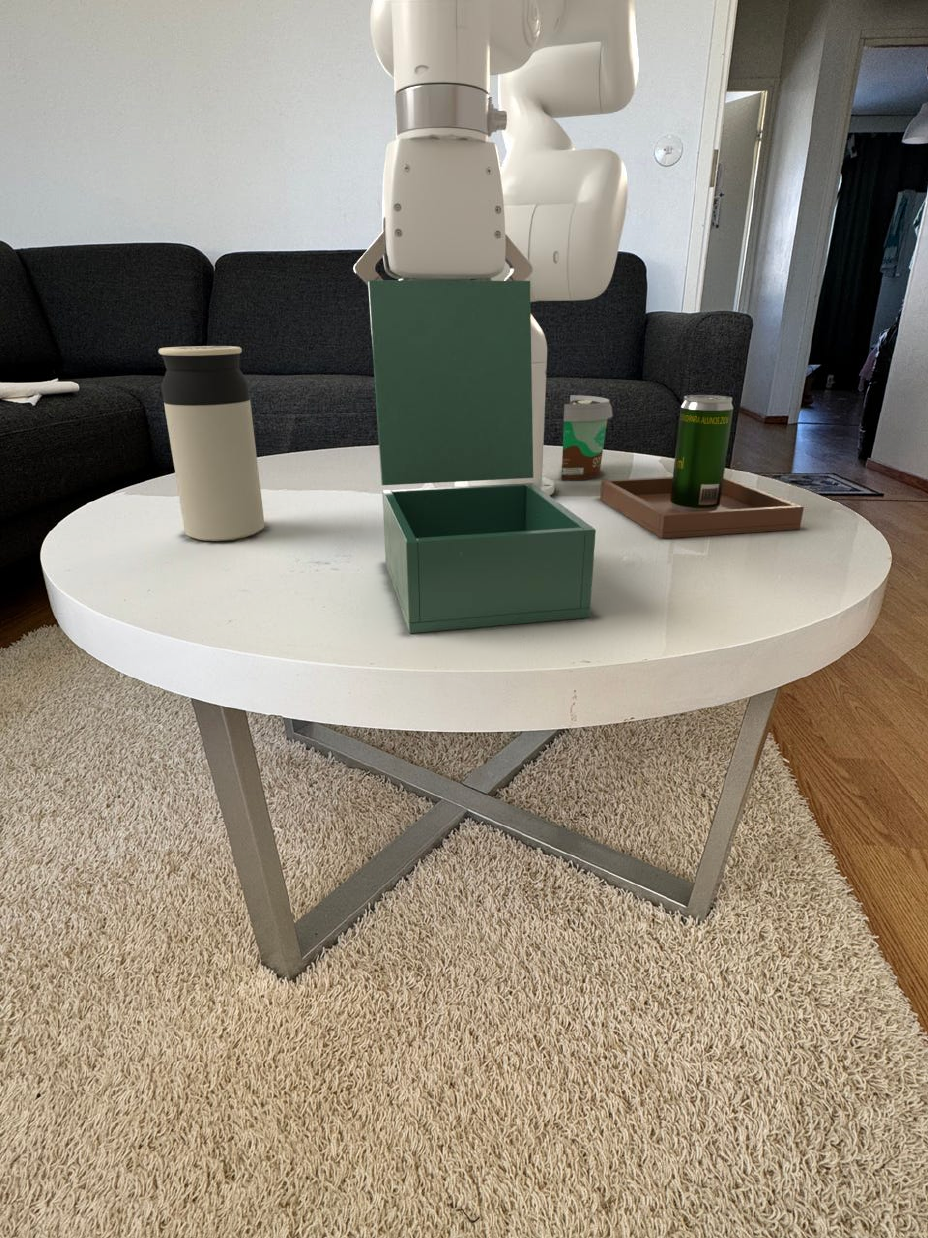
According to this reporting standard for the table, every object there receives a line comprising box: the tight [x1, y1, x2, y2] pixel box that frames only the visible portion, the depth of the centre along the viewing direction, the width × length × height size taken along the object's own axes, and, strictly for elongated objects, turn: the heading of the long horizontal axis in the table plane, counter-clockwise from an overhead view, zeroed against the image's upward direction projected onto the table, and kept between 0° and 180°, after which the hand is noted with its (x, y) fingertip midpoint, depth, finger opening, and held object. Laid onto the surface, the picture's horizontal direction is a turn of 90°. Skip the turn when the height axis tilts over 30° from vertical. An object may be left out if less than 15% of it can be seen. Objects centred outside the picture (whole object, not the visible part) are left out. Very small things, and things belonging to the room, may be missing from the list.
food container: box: [560, 394, 613, 481], centre depth 99 cm, size 12×6×10 cm, turn 168°
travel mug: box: [157, 345, 265, 542], centre depth 72 cm, size 8×8×18 cm
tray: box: [599, 475, 805, 540], centre depth 81 cm, size 17×16×2 cm
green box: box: [381, 483, 597, 634], centre depth 58 cm, size 16×14×7 cm
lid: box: [367, 279, 533, 486], centre depth 64 cm, size 16×14×5 cm
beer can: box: [670, 394, 734, 512], centre depth 78 cm, size 5×5×12 cm
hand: (445, 360), depth 65 cm, fingers closed on lid, 6 cm apart
